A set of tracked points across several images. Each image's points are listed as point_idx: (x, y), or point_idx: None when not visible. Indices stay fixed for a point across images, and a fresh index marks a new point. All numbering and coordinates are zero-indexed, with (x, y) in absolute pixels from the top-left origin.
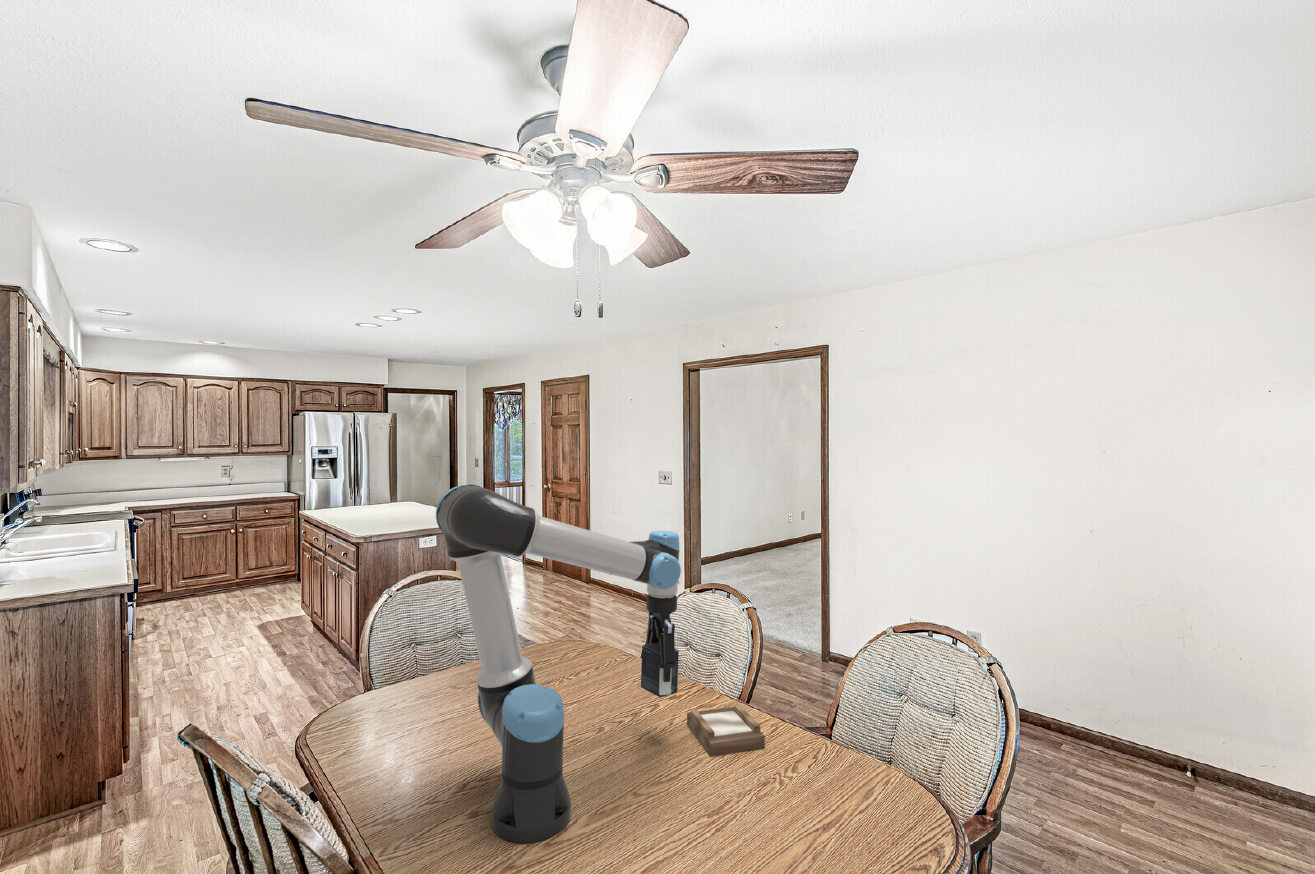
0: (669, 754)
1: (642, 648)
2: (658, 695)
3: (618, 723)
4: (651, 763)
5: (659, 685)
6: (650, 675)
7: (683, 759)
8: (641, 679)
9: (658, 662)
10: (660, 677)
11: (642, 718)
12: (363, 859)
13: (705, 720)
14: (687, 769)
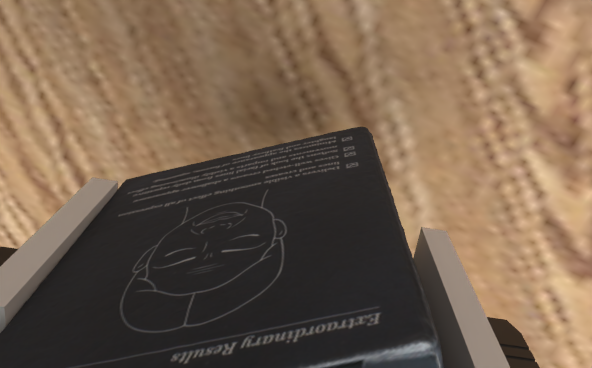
0: (144, 120)
1: (408, 313)
2: (139, 177)
3: (521, 15)
4: (98, 10)
5: (85, 208)
6: (223, 204)
7: (87, 155)
8: (363, 147)
9: (44, 328)
10: (30, 243)
11: (503, 151)
12: None
13: None
14: (11, 134)
